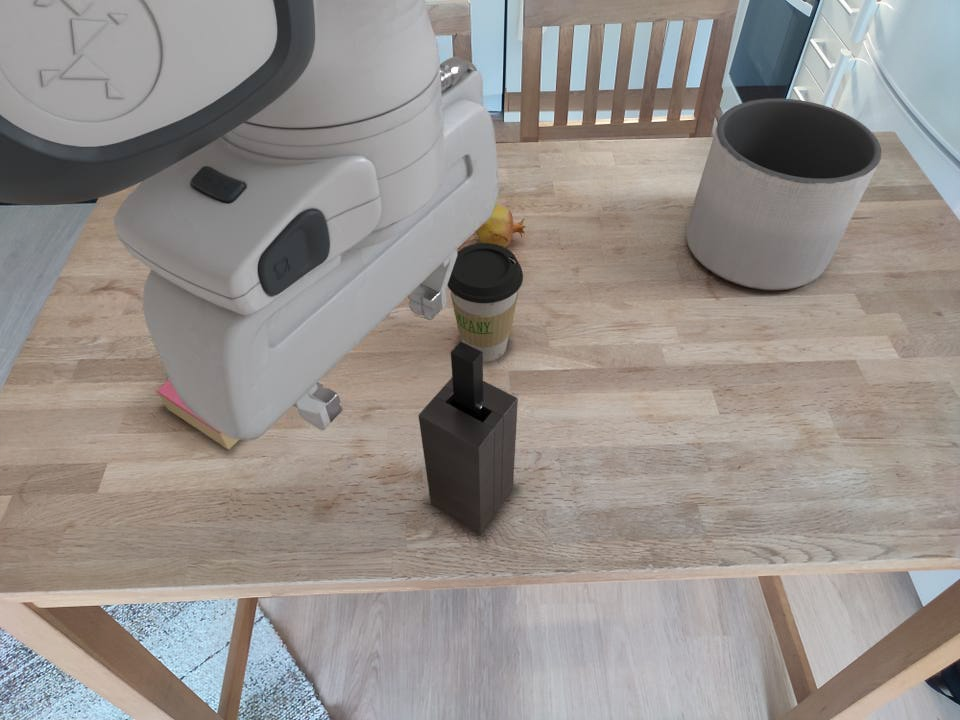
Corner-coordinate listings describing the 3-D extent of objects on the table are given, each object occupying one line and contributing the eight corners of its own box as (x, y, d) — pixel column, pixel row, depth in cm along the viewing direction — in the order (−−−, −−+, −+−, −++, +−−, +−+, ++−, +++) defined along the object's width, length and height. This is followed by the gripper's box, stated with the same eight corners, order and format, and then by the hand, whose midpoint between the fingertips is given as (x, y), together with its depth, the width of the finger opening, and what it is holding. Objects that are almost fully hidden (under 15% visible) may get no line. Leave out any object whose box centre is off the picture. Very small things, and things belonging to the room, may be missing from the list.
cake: (228, 450, 82) (218, 431, 79) (167, 409, 86) (155, 390, 83) (274, 406, 86) (267, 388, 83) (214, 370, 91) (204, 350, 88)
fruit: (461, 229, 101) (527, 230, 100) (464, 194, 104) (527, 194, 104) (464, 256, 107) (526, 256, 107) (466, 222, 110) (526, 222, 110)
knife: (479, 505, 76) (475, 364, 57) (457, 492, 77) (447, 350, 58) (486, 494, 77) (485, 353, 58) (465, 482, 78) (457, 339, 59)
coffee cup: (443, 327, 96) (437, 246, 84) (508, 315, 97) (511, 234, 86) (458, 378, 89) (454, 298, 78) (527, 364, 91) (533, 284, 79)
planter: (690, 291, 100) (726, 178, 85) (677, 204, 114) (707, 93, 99) (841, 301, 98) (906, 187, 83) (809, 211, 112) (859, 99, 97)
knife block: (480, 536, 74) (478, 448, 61) (430, 505, 77) (418, 415, 63) (513, 490, 78) (518, 398, 64) (464, 462, 81) (459, 368, 67)
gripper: (425, 27, 34) (441, 241, 44) (69, 244, 22) (202, 460, 33) (532, 57, 31) (521, 275, 42) (193, 316, 20) (294, 524, 31)
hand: (379, 359), depth 37 cm, fingers open, 8 cm apart
